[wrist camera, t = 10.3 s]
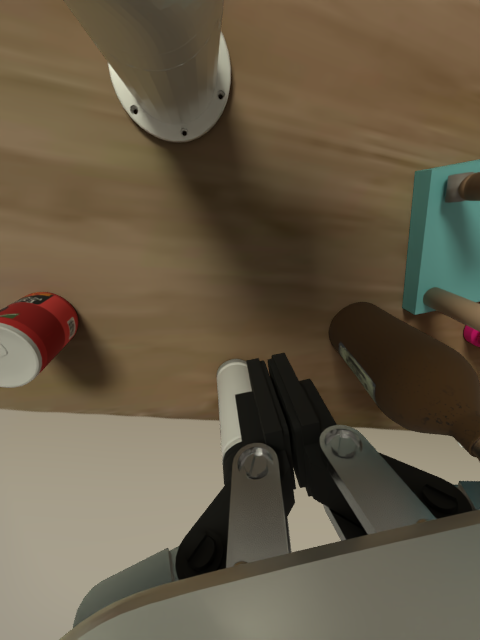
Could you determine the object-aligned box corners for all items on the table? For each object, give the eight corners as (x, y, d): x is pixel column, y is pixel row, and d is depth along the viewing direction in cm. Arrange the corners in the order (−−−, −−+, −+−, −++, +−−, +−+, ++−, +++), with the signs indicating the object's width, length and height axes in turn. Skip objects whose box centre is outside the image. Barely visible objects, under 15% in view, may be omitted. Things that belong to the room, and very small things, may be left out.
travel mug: (261, 368, 47) (297, 477, 29) (237, 394, 49) (257, 512, 30) (233, 350, 45) (252, 455, 27) (209, 377, 46) (211, 494, 28)
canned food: (50, 279, 37) (-7, 310, 27) (92, 324, 40) (55, 367, 30) (7, 308, 38) (-64, 348, 28) (52, 350, 41) (3, 399, 31)
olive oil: (367, 284, 43) (550, 384, 20) (396, 328, 47) (576, 453, 24) (312, 327, 45) (422, 462, 22) (345, 366, 49) (466, 513, 26)
